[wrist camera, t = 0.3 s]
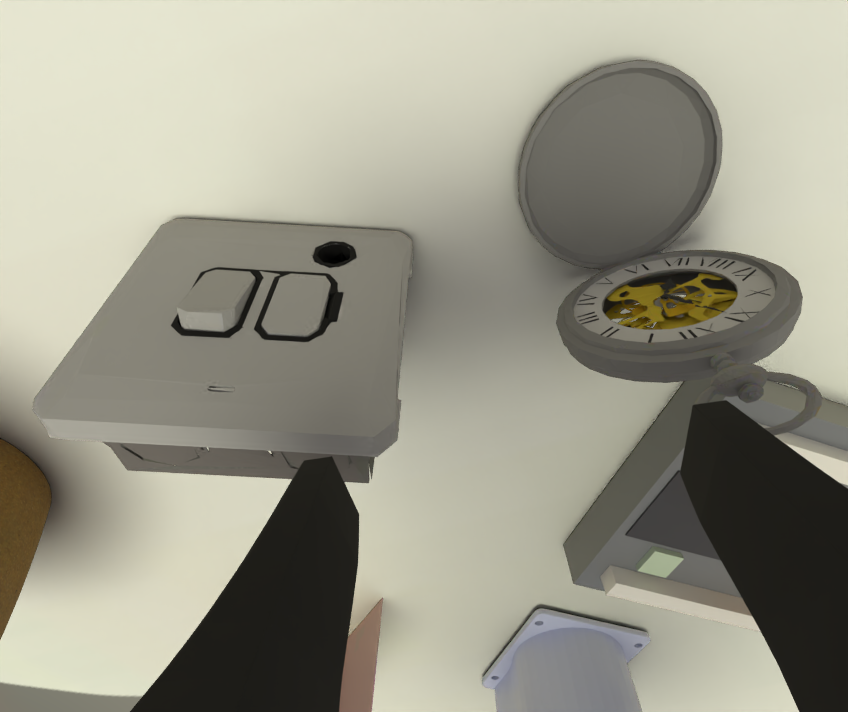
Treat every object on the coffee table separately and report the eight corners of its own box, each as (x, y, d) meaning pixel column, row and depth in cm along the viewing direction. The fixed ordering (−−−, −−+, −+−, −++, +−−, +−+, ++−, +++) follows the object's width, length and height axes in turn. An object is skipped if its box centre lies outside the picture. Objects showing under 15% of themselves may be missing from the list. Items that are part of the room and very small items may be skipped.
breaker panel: (800, 604, 30) (840, 663, 27) (563, 545, 27) (578, 602, 24) (989, 453, 23) (1068, 508, 20) (701, 358, 21) (744, 405, 18)
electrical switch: (416, 227, 18) (397, 383, 11) (411, 339, 22) (394, 522, 14) (168, 213, 18) (-19, 360, 11) (199, 327, 22) (69, 503, 14)
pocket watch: (620, 10, 15) (871, -67, 6) (777, 186, 17) (1112, 303, 9) (450, 220, 18) (462, 359, 10) (602, 342, 21) (719, 538, 12)
